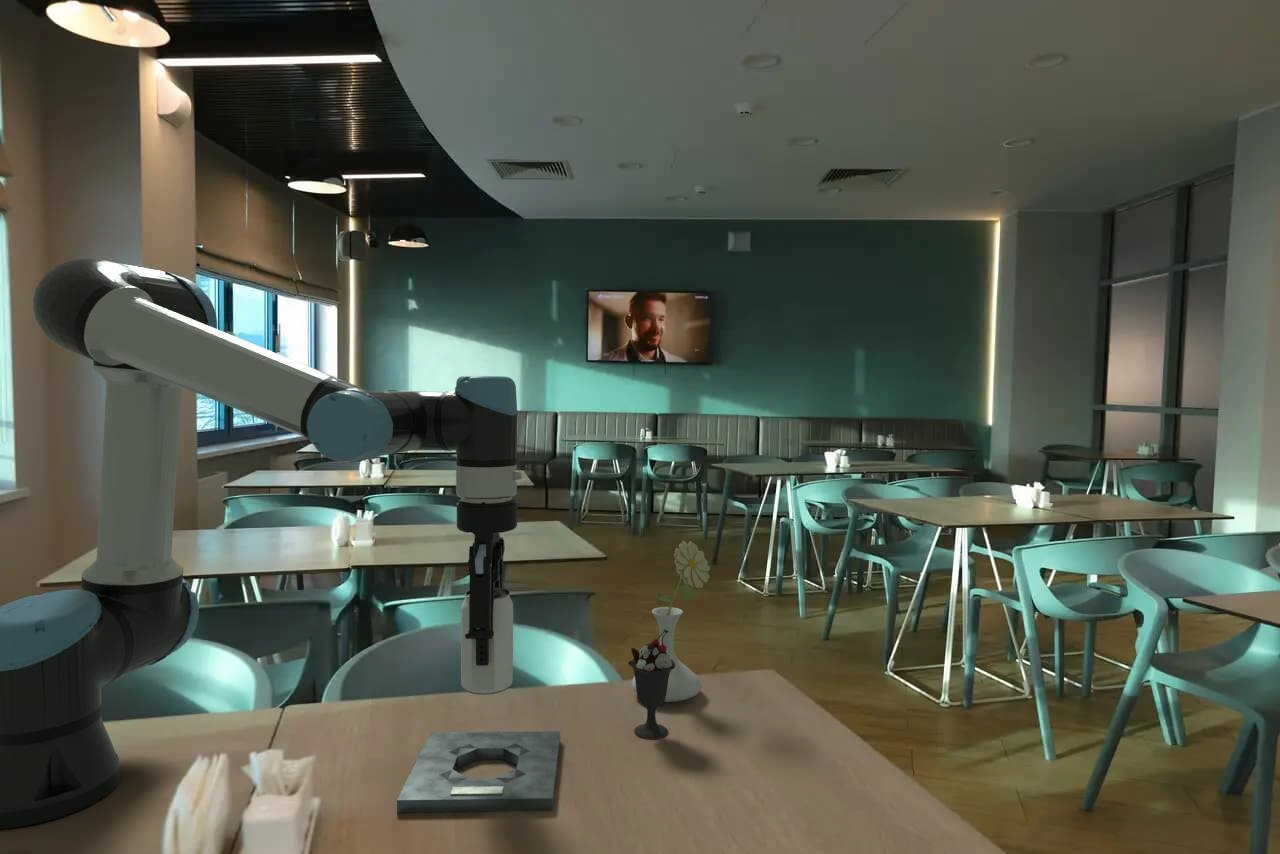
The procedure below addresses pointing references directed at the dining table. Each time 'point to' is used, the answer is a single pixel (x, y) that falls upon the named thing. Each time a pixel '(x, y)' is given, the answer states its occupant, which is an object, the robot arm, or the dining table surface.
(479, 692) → the can
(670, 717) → the dining table surface
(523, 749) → the socket plate
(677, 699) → the flower in vase
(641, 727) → the sundae
